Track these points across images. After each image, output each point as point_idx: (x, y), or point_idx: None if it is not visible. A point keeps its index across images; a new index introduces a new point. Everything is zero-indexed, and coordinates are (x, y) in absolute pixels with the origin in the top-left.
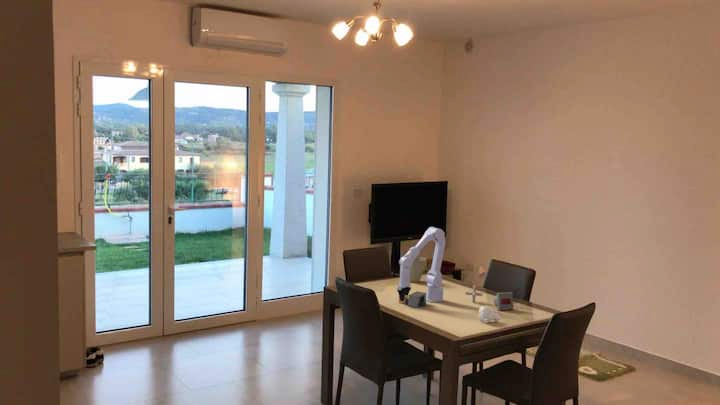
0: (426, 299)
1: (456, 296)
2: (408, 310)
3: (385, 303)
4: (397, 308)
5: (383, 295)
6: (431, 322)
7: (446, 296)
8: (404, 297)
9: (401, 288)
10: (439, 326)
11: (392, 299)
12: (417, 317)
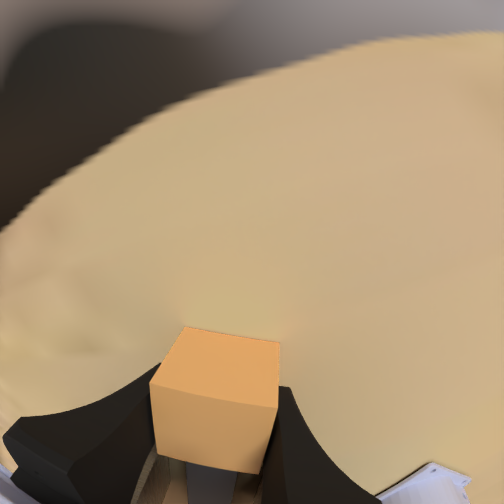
0: (404, 486)
1: (495, 493)
2: (38, 411)
3: (59, 186)
4: (14, 341)
5: (446, 43)
6: (11, 460)
7: (500, 478)
8: (159, 439)
9: (22, 498)
10: (9, 468)
11: (314, 198)
12: (4, 431)
